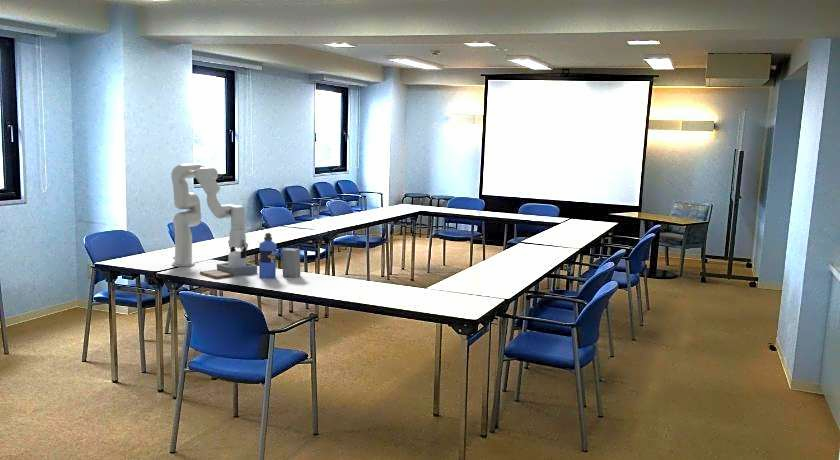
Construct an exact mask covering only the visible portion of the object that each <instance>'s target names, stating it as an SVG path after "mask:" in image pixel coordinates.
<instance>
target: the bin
mask: <svg viewBox="0 0 840 460" xmlns="http://www.w3.org/2000/svg"><path fill="white" fill-rule="evenodd" d="M216 270H219V271H223V272H226V273H230V274H232V277H239V276H246V275H251V274H252V275H253V274H257V273H258V265H257V264H253V263H250V262H246V267H239V268H232V267H228V262H223V263H222V262H221V263H216Z"/></svg>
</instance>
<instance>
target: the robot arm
mask: <svg viewBox="0 0 840 460" xmlns="http://www.w3.org/2000/svg"><path fill="white" fill-rule="evenodd" d="M170 174H171V181H172V183H171V184H172V189H173V201H174V207H175V208H176V209H177V210H185V211H179V212H177V213H175V215H174V216H173V218H172V221H173V222H172V223H173V227H174V257H173V260H174V261H173V262H172V263H171V264H172V266H174V267H192V266H195V265H196V263H195V261H193V233H192V230H191V229H190V228H191V227H192V228H193V227H196V226H199V224H200V223H201V221H202V211H201V200H200V197H199V196H198V195H197V193H194V192H190V191H189V190H190V189H189V184H188V182H187V180H186V179H196V180H197V182H198V183H199V185H200V187H201V188H202V189H203V191H204V193H205V194H206V203H207V207H208V208H209V210H210V211H211V213H212V215H214V217H215V218H216V219H219V220H222V219H226V218H227V219H228V218H230V231H229V237H228V238H229V240H228V241H227V243H228V246H229V249H230V251H229V253H231V252H234V251H237V250H236V249H240V251H241V258H246V259H247V250H248V246H249V243H247V239H246V238H247V237H246V231H245V226H246V225H245V223H246V222H245V218H246V217H245V215H246V213H245V207H244V206H243V205H236V204H230V203H229V204H221V203H220V201H219V200H218V197H217V194H218V193H219V192H220V190H221V187H220V185H219V183H218V182H217V181H216V180H217V179H218V177H219V173H218V170H217V169H216V168H215V167H214V166H210V165H205V164H201V163H180V164H177V165H175V166H174V167H173V169H172V170H171V173H170Z"/></svg>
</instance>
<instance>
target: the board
mask: <svg viewBox="0 0 840 460" xmlns="http://www.w3.org/2000/svg"><path fill="white" fill-rule="evenodd" d="M199 274H200V275H201V276H205V277H209V278H212V279H215V280H219V279H221V280H222V279H225V278H226V279H227V278H233V276H232V274H230V273H226V272H223V271H219V270H217V268H216V269H211V270H210V269H209V270H208V269H207V270H201V271H199Z"/></svg>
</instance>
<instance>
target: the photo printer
mask: <svg viewBox="0 0 840 460" xmlns="http://www.w3.org/2000/svg"><path fill="white" fill-rule="evenodd" d="M227 260H228V261H227V263H228V267H232V268H239V267H246V263H247V257H246V258H241V250H236V251H234V252H231V253H230V252H229V253H228V259H227Z"/></svg>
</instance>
